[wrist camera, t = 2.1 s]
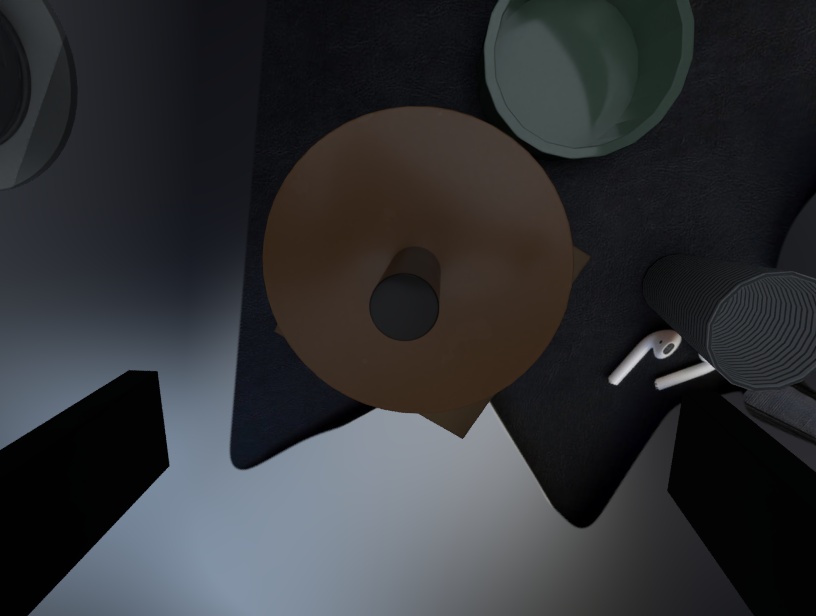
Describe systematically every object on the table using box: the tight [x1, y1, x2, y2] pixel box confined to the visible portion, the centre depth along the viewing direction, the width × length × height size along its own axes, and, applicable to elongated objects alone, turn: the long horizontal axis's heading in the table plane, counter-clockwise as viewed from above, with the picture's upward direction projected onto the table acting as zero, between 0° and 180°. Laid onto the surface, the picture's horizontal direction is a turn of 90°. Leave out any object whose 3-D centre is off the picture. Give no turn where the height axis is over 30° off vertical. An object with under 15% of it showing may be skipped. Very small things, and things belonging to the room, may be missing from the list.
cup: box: [642, 254, 816, 391], centre depth 41 cm, size 8×8×16 cm
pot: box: [477, 0, 694, 161], centre depth 41 cm, size 15×15×9 cm
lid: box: [263, 106, 574, 414], centre depth 22 cm, size 16×16×8 cm
